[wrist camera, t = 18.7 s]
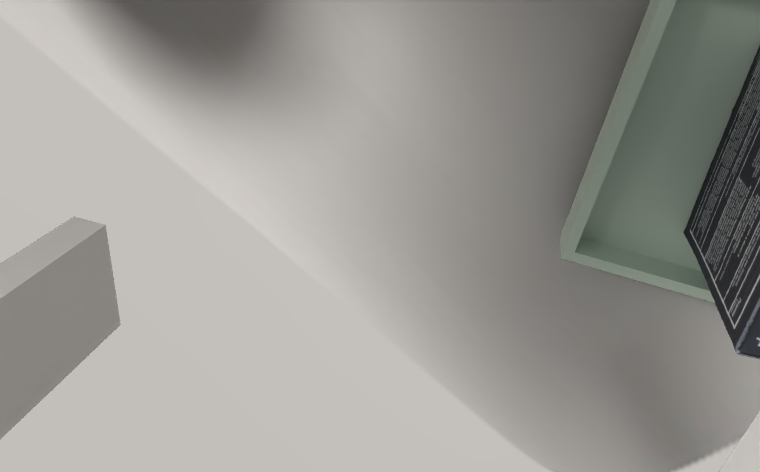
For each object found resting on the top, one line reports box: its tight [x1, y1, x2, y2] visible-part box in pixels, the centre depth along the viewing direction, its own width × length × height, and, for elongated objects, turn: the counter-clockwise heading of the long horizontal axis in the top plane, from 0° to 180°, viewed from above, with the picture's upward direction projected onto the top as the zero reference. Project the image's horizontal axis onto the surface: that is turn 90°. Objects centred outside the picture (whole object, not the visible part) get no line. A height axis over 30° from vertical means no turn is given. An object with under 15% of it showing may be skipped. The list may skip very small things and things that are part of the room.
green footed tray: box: [560, 0, 760, 303], centre depth 28 cm, size 14×15×4 cm
